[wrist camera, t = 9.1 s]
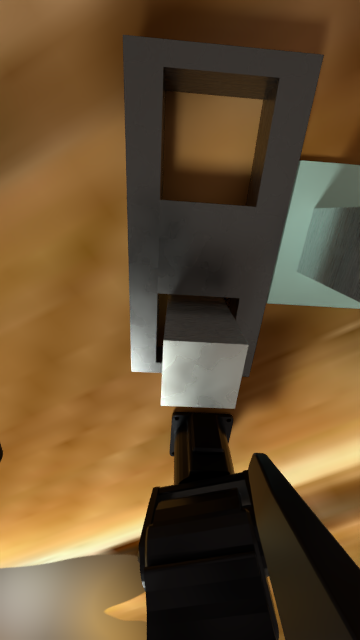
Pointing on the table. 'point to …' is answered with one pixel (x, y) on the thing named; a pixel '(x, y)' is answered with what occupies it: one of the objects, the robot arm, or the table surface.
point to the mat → (308, 193)
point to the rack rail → (204, 218)
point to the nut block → (333, 250)
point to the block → (201, 353)
